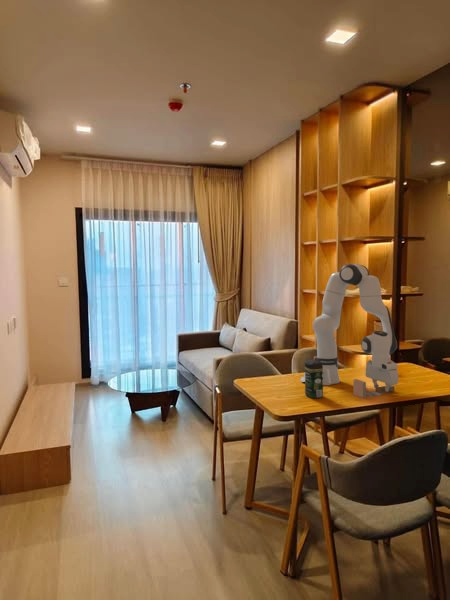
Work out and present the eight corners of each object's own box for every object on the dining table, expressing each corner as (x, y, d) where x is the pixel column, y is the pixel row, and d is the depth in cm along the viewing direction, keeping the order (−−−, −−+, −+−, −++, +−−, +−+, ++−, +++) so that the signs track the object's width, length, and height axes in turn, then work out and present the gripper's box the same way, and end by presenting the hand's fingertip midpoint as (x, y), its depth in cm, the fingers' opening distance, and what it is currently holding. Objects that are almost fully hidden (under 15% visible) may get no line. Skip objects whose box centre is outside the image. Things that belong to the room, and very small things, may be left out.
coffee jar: (302, 394, 212) (302, 359, 211) (316, 392, 214) (315, 357, 213) (311, 399, 202) (310, 362, 201) (325, 397, 204) (325, 361, 203)
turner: (388, 390, 215) (388, 384, 215) (396, 392, 210) (396, 387, 210) (362, 394, 209) (362, 388, 209) (370, 397, 204) (370, 391, 204)
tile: (356, 394, 209) (356, 379, 208) (365, 398, 202) (365, 382, 202) (353, 394, 208) (353, 379, 208) (362, 398, 202) (362, 382, 201)
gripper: (362, 360, 218) (362, 385, 218) (390, 367, 199) (390, 395, 199) (371, 358, 220) (372, 384, 221) (400, 366, 201) (400, 393, 202)
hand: (381, 389), depth 210 cm, fingers open, 6 cm apart
